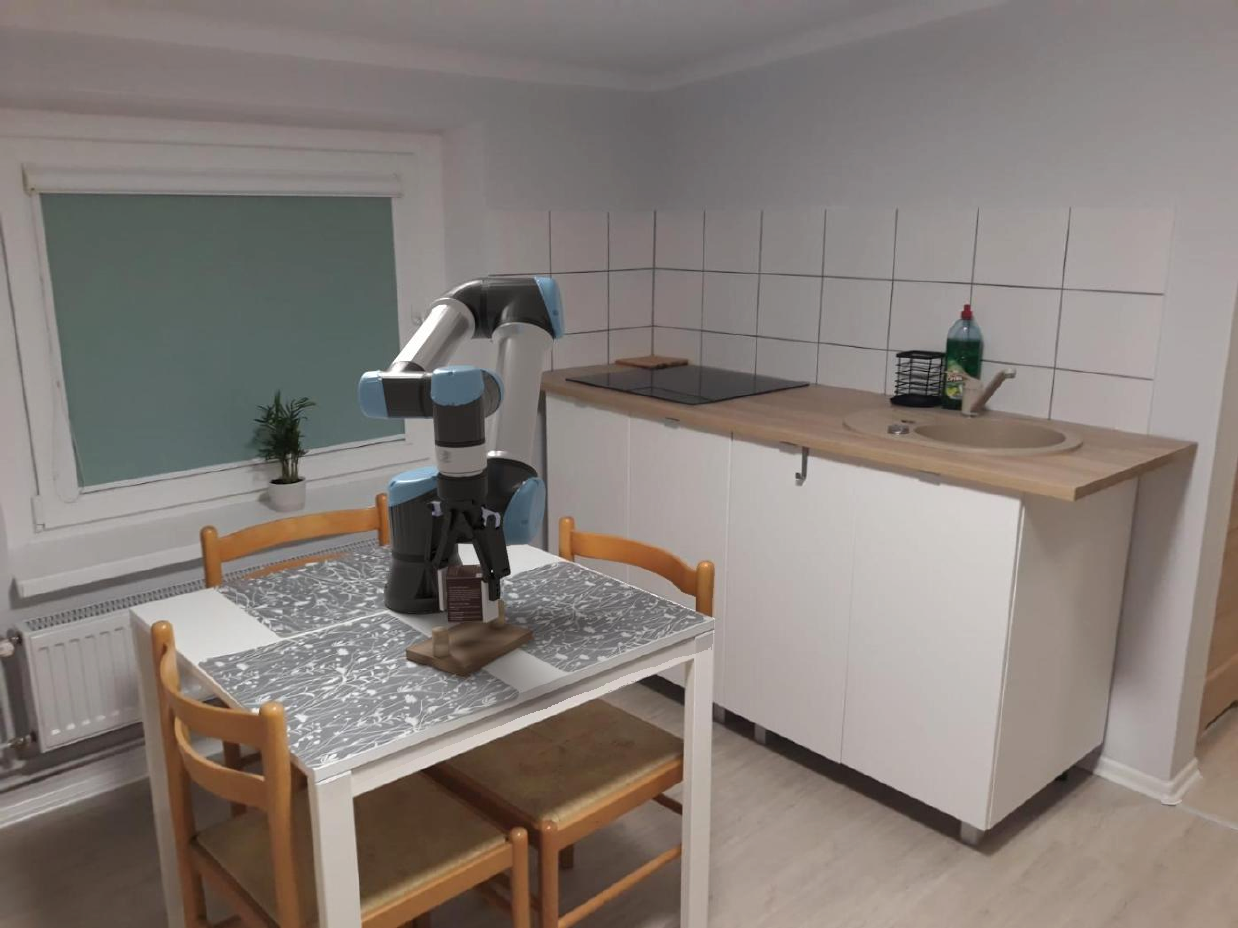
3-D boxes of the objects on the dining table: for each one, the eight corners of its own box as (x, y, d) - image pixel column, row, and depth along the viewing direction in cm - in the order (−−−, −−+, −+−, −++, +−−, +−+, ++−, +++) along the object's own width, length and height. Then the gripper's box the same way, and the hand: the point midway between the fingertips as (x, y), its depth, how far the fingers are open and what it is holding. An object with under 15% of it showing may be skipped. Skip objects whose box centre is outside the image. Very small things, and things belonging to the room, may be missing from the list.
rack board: (406, 658, 150) (403, 624, 149) (476, 623, 163) (474, 592, 162) (464, 676, 144) (463, 642, 142) (533, 638, 156) (532, 606, 155)
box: (450, 609, 154) (448, 564, 153) (488, 607, 155) (487, 563, 153) (447, 623, 149) (444, 578, 147) (487, 622, 149) (485, 576, 147)
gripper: (393, 467, 149) (402, 607, 154) (499, 485, 138) (505, 636, 143) (428, 457, 155) (436, 593, 160) (532, 474, 144) (537, 619, 149)
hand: (468, 613), depth 152 cm, fingers closed on box, 8 cm apart
